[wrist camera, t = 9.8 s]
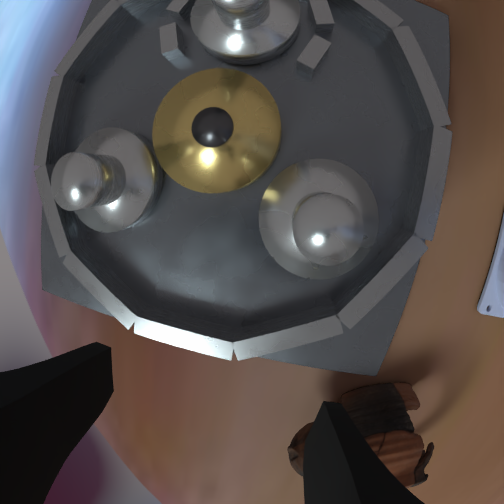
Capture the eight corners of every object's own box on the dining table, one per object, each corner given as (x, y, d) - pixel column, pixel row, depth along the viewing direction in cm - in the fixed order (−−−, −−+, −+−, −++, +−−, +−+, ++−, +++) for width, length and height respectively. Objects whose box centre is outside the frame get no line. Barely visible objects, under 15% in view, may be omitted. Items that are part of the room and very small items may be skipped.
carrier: (442, 21, 13) (479, -15, 7) (372, 368, 19) (393, 422, 13) (108, -17, 14) (71, -48, 9) (50, 285, 20) (1, 311, 15)
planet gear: (312, 0, 13) (317, -46, 8) (280, 77, 15) (277, 39, 10) (219, -19, 13) (201, -63, 9) (182, 53, 15) (149, 18, 10)
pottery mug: (442, 375, 19) (462, 469, 13) (372, 416, 25) (381, 492, 19) (313, 370, 16) (322, 509, 10) (257, 414, 23) (257, 507, 17)
